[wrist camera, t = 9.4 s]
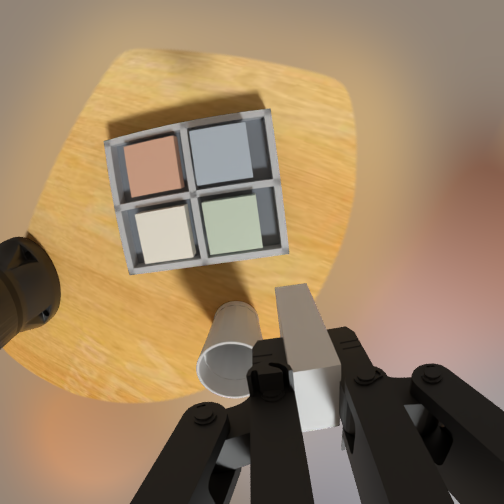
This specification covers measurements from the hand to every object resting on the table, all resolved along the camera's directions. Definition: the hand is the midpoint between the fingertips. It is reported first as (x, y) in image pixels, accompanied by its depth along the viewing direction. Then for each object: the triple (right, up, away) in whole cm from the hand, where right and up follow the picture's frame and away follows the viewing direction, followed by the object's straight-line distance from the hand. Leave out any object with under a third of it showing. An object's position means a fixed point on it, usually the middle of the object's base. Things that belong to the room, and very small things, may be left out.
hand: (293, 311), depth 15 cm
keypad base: (-9, +10, +25) cm, 28 cm away
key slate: (-5, +14, +19) cm, 24 cm away
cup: (-4, -7, +30) cm, 31 cm away
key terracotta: (-13, +13, +20) cm, 28 cm away
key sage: (-4, +6, +22) cm, 24 cm away
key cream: (-12, +5, +23) cm, 26 cm away
